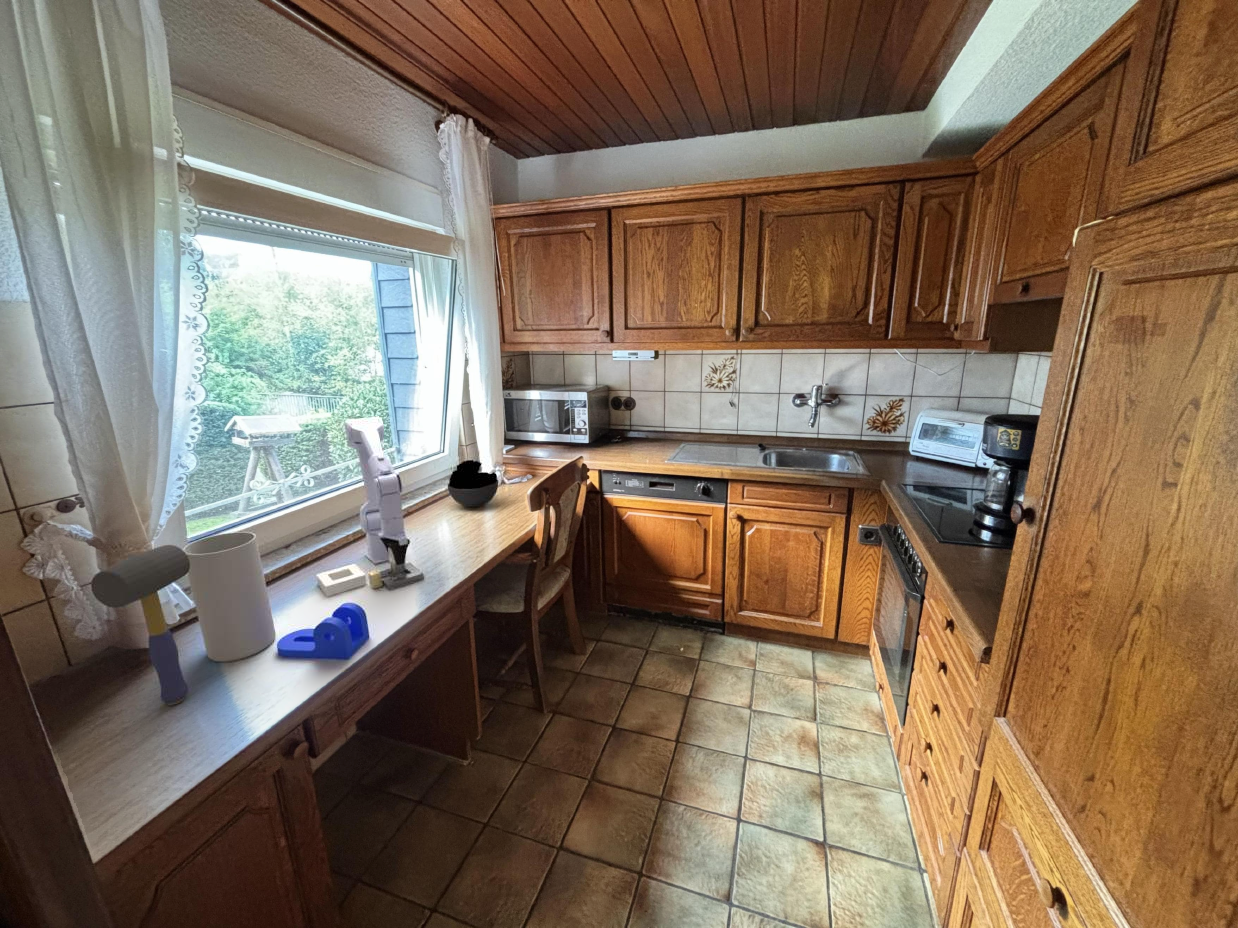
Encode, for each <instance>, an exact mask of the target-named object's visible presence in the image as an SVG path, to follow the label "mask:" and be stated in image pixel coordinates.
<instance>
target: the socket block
mask: <svg viewBox="0 0 1238 928" xmlns="http://www.w3.org/2000/svg"><path fill="white" fill-rule="evenodd" d="M405 563H406V569H405V570H404V571H402V572H397V573H394V572H391V567H390V568H386V569H383V570H379V571H380V572H381V578H385V577H388V576H389V578H386V579H383V580H382V582H383V584H382V585H383V586H382V587H384V588H385V589H386V590H387V591H390V590H394V589H397V588H400V587H404V586H406V585H409V584H413V583H415V582H419V581H422V580H424V579H425V574H424V572H423V571H421V570H420V569H419V568H418V567H417V566H415V565H414V564H413V563H411V562H405ZM403 574H404V575H403ZM400 575H401V576H400Z"/></svg>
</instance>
